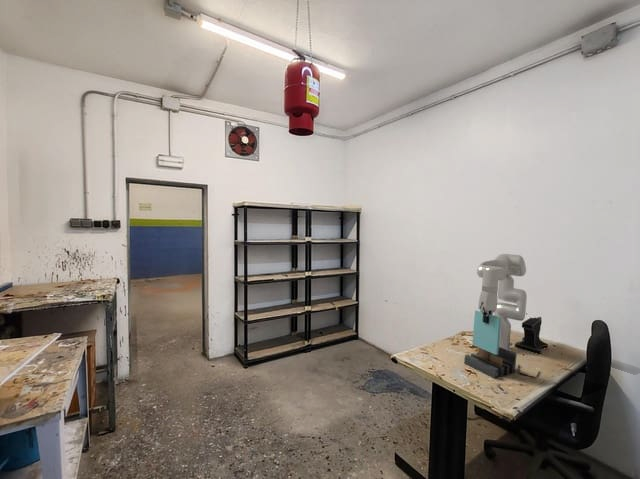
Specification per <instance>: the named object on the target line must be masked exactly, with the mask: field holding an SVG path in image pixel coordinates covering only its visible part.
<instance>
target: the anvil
mask: <svg viewBox="0 0 640 479" xmlns="http://www.w3.org/2000/svg"><path fill="white" fill-rule="evenodd" d="M541 325H542V316H539V317H536V316H535V317H529V318H528V319H525V320H523V321H522V322H521V328H522V329H523V334H524V335H523V337H521V341H517V342H514V348H516V349H520V350H522V351H525V350H526V352H529V351H530V353H532V352H533V354H535V353H537V354H536V355H539V354H540V356H542V352H543V350H542V349H544V348H547V347H548V348H549V343H546V342H544V341H543V340H541V339H540V333H541V328H542V326H541ZM548 348H547V349H548ZM544 350H545V349H544Z"/></svg>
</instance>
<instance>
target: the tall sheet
mask: <svg viewBox="0 0 640 479" xmlns="http://www.w3.org/2000/svg"><path fill="white" fill-rule="evenodd" d="M473 320H474V321H473V332H472V343H471V344H472V346H474V347H476V348H478V349H479V348H481V349H484V350H486V351H488V352H491V353H493V354H495V355H498V350H499V338H500V326H501V317H497V316H495V314H493V315H491V314H489V323H488V324H487V323H484V322H483V313H482V312H480V310H478V309H477V310H474V319H473Z"/></svg>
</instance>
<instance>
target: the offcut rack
mask: <svg viewBox="0 0 640 479" xmlns="http://www.w3.org/2000/svg"><path fill="white" fill-rule="evenodd" d="M517 354H518V353H516V352H513V351H509V350H506V349H504V348H501V347H499V350H498V355H495V354H493V353H491V352H490V355H494V356H496V357H499V358H501V359H502V366H501V365H498V364H496V363H494V362H492V361H490V360H487V359H485V358H483V357H481V356H479V355H478V352H476V353H474V352H473V353H470V354H464V360H463V361H464V362H463V363H464V365H466V366H468V367H470V368H472V369H473V370H476V371H477V372H480V373H482V374H484V375H486V376H488V377H490V378H491V379H494V380H496V379H500V378H504V377H506V376H511V375H513V374H515V373H516V368H517V365H516V364H517Z"/></svg>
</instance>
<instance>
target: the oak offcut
mask: <svg viewBox="0 0 640 479" xmlns="http://www.w3.org/2000/svg"><path fill="white" fill-rule="evenodd" d="M490 361H492V362H494V363H496V364H498V365H501V366H502V359H501V358H499V357H496V356H494V355H490Z"/></svg>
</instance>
